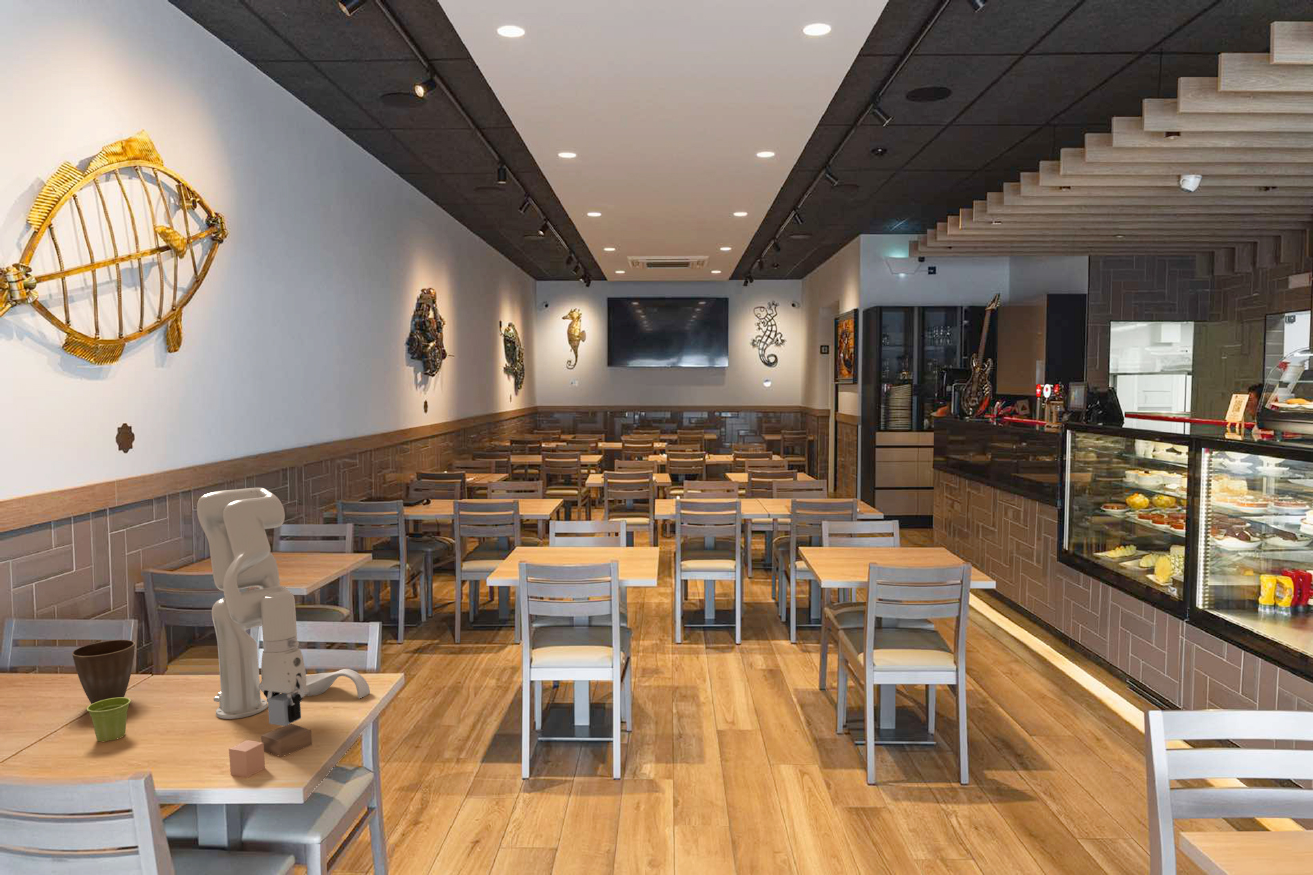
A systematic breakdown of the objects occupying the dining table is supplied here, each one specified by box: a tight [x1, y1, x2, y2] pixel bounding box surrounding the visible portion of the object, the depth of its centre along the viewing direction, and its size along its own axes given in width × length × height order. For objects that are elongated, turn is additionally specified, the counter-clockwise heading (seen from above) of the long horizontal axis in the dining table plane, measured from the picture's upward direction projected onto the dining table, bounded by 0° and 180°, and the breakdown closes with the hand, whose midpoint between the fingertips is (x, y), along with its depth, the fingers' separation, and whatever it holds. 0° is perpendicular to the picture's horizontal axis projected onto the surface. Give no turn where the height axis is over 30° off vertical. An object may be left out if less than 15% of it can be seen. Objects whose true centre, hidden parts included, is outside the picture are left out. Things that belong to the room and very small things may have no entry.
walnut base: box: [260, 723, 313, 758], centre depth 208 cm, size 8×8×4 cm
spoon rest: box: [299, 668, 371, 700], centre depth 245 cm, size 24×12×7 cm, turn 73°
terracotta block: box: [228, 739, 266, 779], centre depth 195 cm, size 5×5×6 cm
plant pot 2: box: [86, 696, 132, 742], centre depth 218 cm, size 9×9×9 cm
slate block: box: [267, 693, 302, 727], centre depth 207 cm, size 5×5×6 cm
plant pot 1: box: [71, 639, 136, 705], centre depth 243 cm, size 15×15×16 cm
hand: (285, 717), depth 208 cm, fingers closed on slate block, 5 cm apart
